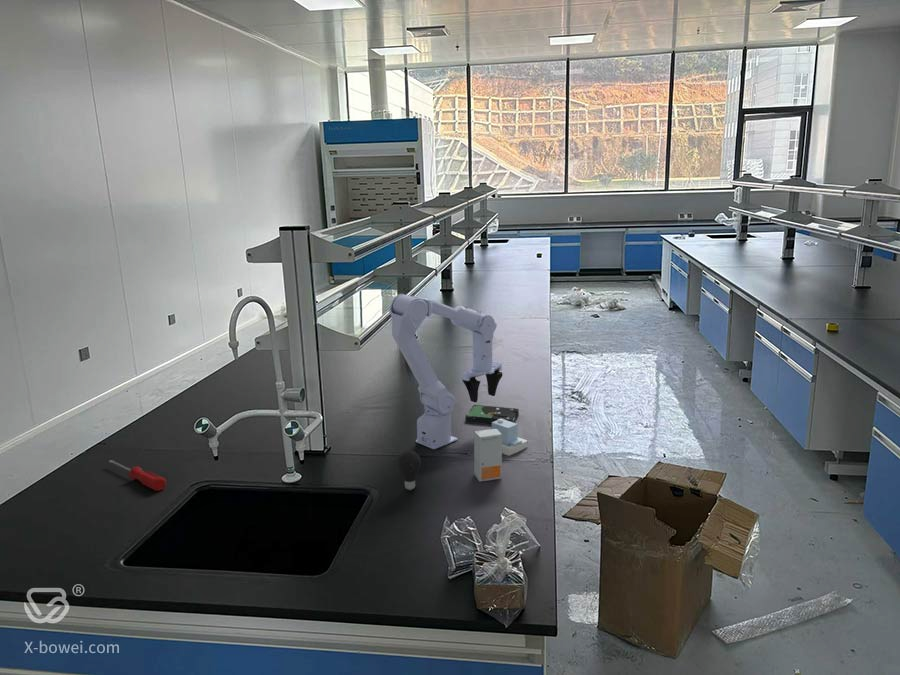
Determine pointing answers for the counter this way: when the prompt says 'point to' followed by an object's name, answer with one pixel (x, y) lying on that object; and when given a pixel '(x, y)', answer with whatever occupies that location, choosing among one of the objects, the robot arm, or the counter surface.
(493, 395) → the robot arm
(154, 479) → the screwdriver
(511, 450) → the frame
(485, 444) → the skincare box
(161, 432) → the counter surface
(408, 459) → the light bulb
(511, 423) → the block
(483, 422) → the disk drive
